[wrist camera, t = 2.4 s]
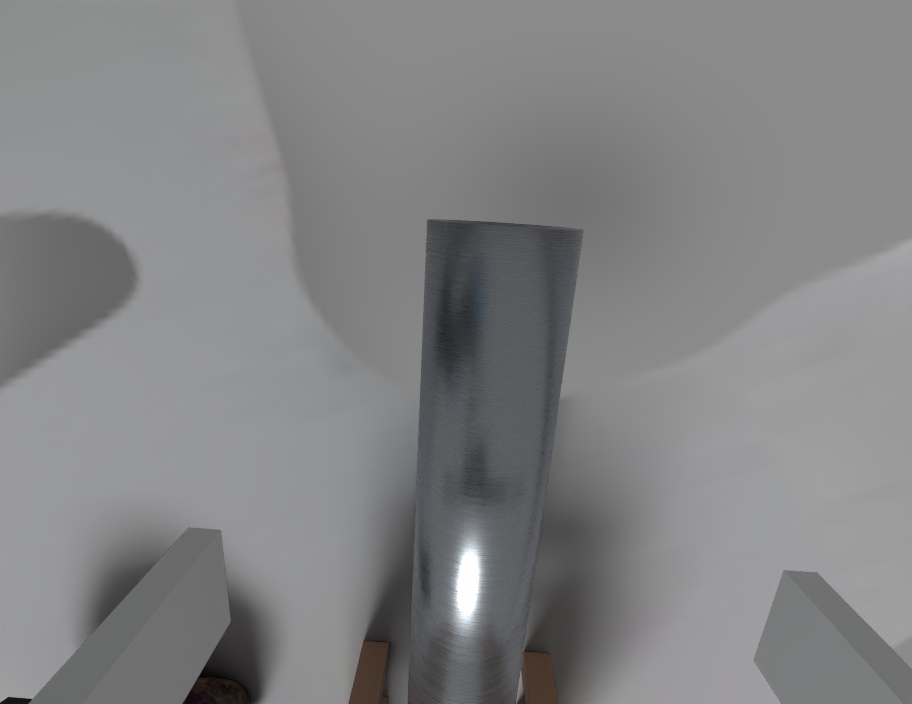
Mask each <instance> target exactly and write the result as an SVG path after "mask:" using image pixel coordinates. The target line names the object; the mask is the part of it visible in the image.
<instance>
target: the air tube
mask: <svg viewBox="0 0 912 704" xmlns="http://www.w3.org/2000/svg"><path fill="white" fill-rule="evenodd" d="M582 236H583V230H581V229H572V228H563V227H551V226H538V225H525V224H511V223H495V222H480V221H462V220H438V219H437V220H436V219H429V220H427V238H426V262H425V287H424V312H423V337H422V361H421V362H422V363H421V386H420V411H419V435H418V460H417V485H416V510H415V534H414V559H413V584H412V608H411V633H410V658H409V683H408V704H516V698H517V691H518V684H519V677H520V670H521V663H522V656H523V649H524V642H525V635H526V628H527V621H528V614H529V607H530V600H531V593H532V586H533V579H534V572H535V565H536V558H537V551H538V544H539V537H540V530H541V523H542V516H543V509H544V502H545V495H546V488H547V481H548V474H549V467H550V460H551V453H552V447H553V440H554V433H555V426H556V419H557V412H558V405H559V398H560V391H561V383H562V377H563V370H564V362H565V356H566V349H567V342H568V334H569V328H570V321H571V313H572V307H573V300H574V293H575V286H576V279H577V271H578V265H579V258H580V251H581V244H582Z"/></svg>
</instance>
